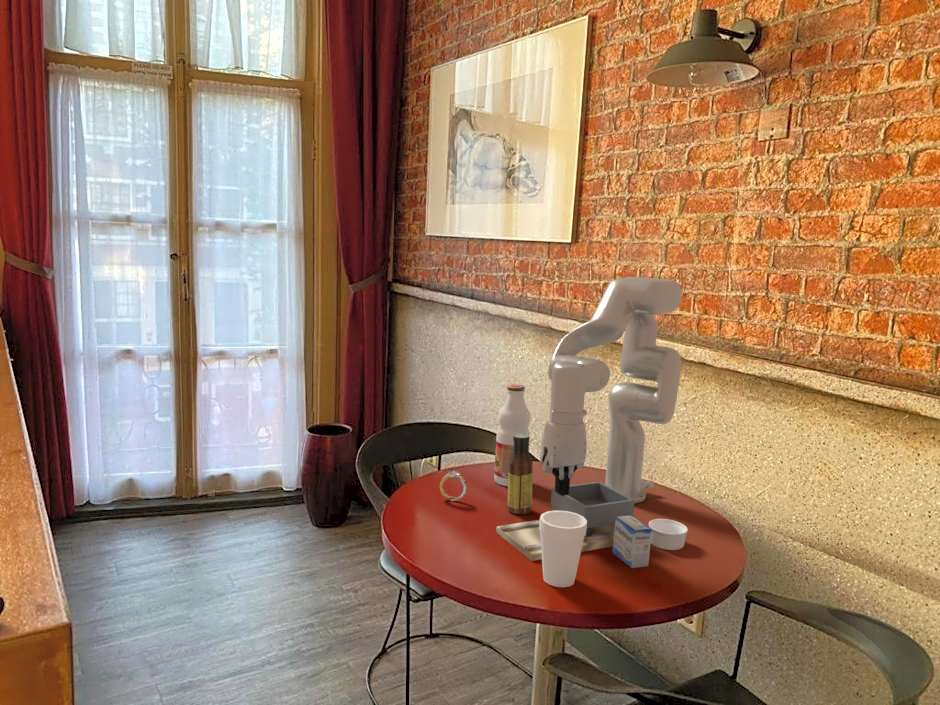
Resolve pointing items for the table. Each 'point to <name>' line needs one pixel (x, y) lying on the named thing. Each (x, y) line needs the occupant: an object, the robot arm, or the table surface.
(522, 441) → the sauce bottle
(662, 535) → the ramekin
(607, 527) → the track board
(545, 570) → the foam cup
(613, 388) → the robot arm
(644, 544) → the medicine box
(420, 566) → the table surface
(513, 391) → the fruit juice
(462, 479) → the bracelet
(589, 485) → the grey storage bin
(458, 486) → the table surface
